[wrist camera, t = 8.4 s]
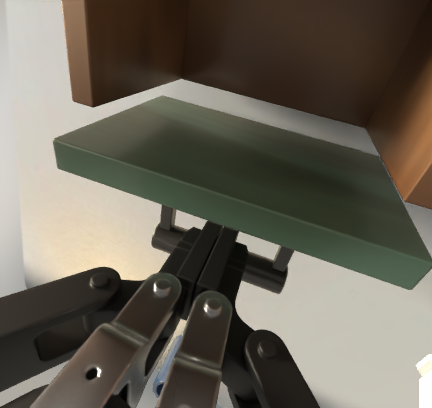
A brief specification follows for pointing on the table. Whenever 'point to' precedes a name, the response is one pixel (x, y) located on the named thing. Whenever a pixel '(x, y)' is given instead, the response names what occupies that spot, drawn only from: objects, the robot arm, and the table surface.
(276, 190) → the drawer
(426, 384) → the cup
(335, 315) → the table surface
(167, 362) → the blue faceted tumbler
